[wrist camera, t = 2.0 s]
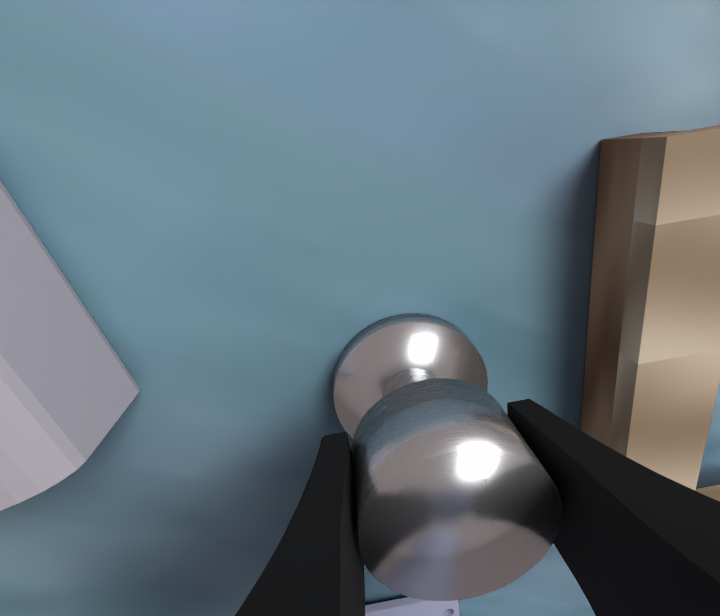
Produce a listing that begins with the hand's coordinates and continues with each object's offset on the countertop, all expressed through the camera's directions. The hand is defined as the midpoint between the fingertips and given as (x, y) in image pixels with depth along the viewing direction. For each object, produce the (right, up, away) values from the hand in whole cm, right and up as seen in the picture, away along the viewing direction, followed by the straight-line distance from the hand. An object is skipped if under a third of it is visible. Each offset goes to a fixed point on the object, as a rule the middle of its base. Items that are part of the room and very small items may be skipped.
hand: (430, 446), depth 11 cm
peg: (0, +1, +3) cm, 3 cm away
